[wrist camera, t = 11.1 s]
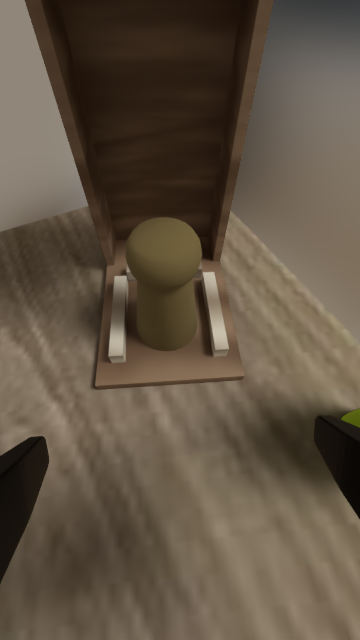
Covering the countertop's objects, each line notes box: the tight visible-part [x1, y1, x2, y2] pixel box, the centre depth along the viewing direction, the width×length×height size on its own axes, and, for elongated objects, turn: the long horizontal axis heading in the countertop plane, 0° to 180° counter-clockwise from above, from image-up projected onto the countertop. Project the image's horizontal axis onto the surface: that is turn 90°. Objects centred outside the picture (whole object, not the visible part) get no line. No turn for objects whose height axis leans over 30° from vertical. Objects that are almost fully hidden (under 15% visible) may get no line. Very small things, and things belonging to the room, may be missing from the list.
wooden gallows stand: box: [25, 0, 274, 389], centre depth 18 cm, size 19×13×25 cm
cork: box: [125, 217, 202, 351], centre depth 21 cm, size 6×6×11 cm
